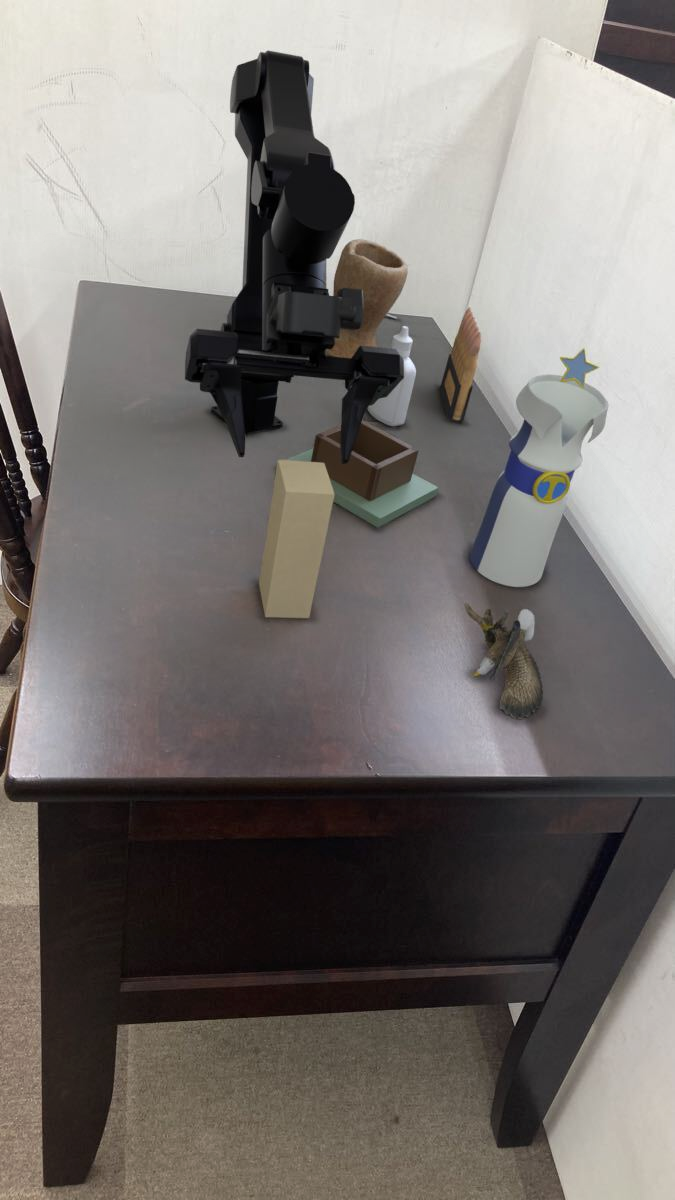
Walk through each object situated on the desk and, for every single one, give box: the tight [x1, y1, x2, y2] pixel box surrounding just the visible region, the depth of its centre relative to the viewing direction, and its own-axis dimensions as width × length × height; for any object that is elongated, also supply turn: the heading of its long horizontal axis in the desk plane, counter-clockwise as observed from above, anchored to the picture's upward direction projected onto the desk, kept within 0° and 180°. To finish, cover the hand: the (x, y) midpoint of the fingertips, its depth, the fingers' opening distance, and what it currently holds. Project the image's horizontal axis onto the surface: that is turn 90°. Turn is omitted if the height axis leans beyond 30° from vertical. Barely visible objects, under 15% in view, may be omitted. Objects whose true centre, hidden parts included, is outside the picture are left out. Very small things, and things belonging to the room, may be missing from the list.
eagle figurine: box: [464, 602, 544, 720], centre depth 76 cm, size 8×7×9 cm
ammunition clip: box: [439, 306, 482, 424], centre depth 118 cm, size 11×2×12 cm, turn 1°
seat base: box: [284, 419, 439, 529], centre depth 98 cm, size 14×11×5 cm
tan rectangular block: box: [258, 459, 335, 619], centre depth 77 cm, size 5×4×13 cm
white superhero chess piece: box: [469, 347, 610, 588], centre depth 84 cm, size 8×9×25 cm
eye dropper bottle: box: [367, 325, 417, 427], centre depth 111 cm, size 4×6×12 cm
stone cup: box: [327, 238, 409, 358], centre depth 127 cm, size 15×12×15 cm
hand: (294, 459), depth 78 cm, fingers open, 9 cm apart
